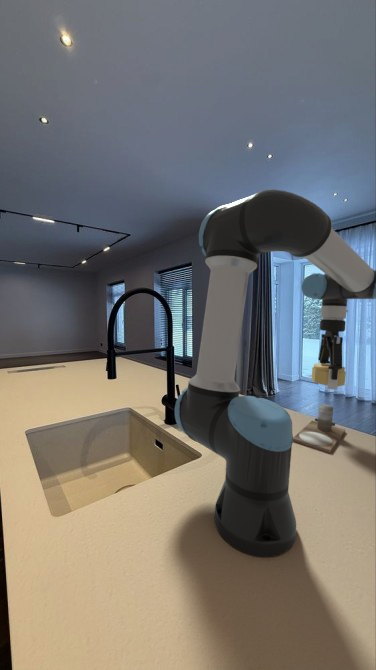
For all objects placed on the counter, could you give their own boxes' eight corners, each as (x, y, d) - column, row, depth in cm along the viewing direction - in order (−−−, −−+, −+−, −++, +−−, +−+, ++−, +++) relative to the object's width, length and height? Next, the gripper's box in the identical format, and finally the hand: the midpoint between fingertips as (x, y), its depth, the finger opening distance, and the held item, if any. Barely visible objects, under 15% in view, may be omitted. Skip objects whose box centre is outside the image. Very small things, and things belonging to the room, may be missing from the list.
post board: (330, 453, 82) (332, 423, 81) (292, 441, 89) (294, 413, 88) (345, 432, 97) (347, 406, 97) (311, 423, 104) (313, 399, 104)
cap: (316, 384, 92) (318, 365, 91) (309, 378, 101) (310, 361, 100) (347, 387, 90) (349, 367, 89) (337, 380, 99) (339, 363, 99)
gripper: (359, 320, 82) (352, 395, 84) (334, 319, 104) (328, 378, 106) (331, 319, 83) (325, 393, 85) (312, 318, 105) (307, 377, 107)
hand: (327, 385), depth 95 cm, fingers closed on cap, 9 cm apart
